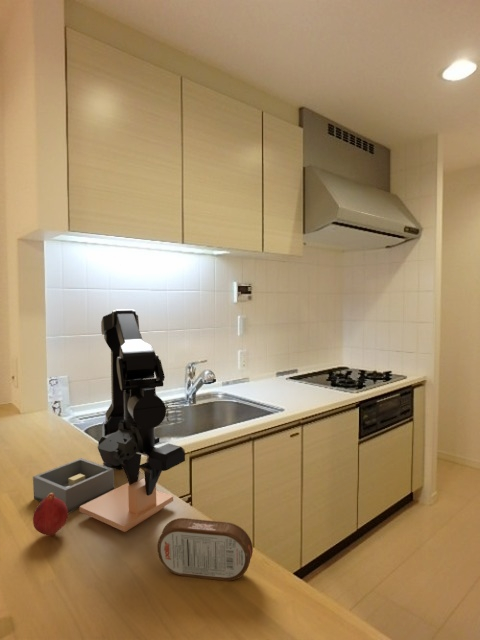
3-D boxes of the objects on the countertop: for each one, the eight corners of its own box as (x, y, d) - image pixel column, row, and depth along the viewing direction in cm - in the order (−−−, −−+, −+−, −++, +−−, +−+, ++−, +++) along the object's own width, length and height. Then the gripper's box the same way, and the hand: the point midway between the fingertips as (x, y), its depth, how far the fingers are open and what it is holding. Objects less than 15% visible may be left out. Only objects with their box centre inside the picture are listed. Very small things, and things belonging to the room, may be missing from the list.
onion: (33, 548, 71) (32, 504, 70) (33, 532, 76) (32, 490, 75) (69, 539, 73) (68, 496, 73) (67, 523, 78) (65, 483, 78)
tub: (81, 478, 98) (81, 458, 98) (114, 490, 92) (113, 469, 92) (33, 498, 88) (32, 476, 88) (66, 514, 82) (65, 490, 82)
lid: (130, 492, 91) (129, 459, 90) (173, 507, 84) (172, 472, 83) (79, 518, 80) (78, 481, 80) (124, 539, 73) (122, 499, 72)
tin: (253, 573, 64) (252, 521, 63) (250, 587, 61) (249, 532, 60) (162, 563, 66) (161, 513, 66) (155, 576, 63) (154, 524, 63)
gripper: (73, 417, 77) (76, 496, 78) (141, 433, 67) (144, 525, 68) (119, 403, 86) (122, 475, 87) (186, 417, 76) (187, 497, 77)
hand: (141, 491), depth 79 cm, fingers open, 4 cm apart
